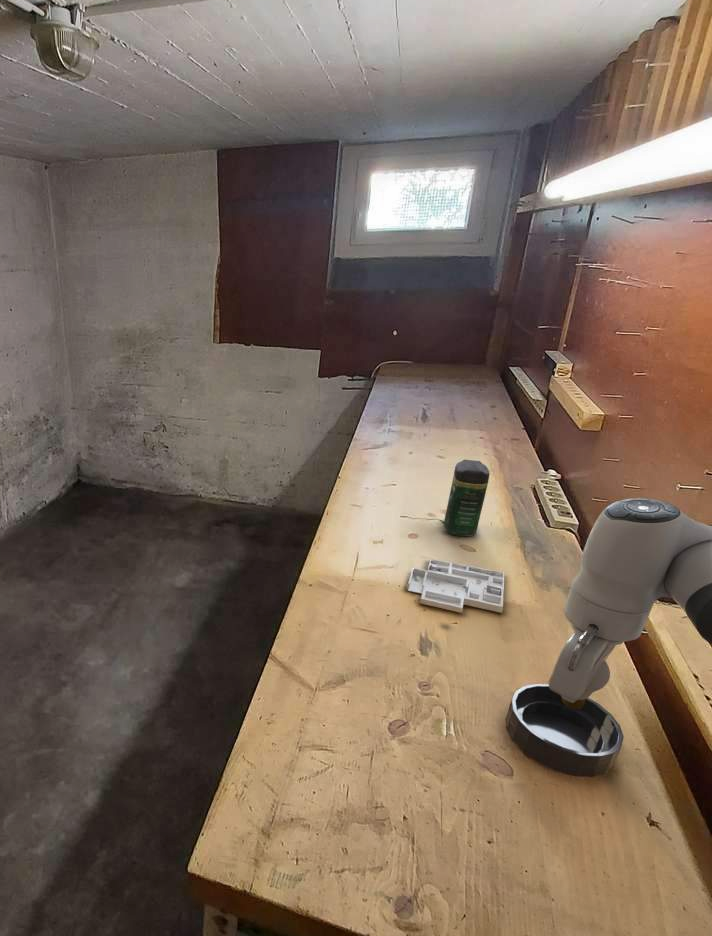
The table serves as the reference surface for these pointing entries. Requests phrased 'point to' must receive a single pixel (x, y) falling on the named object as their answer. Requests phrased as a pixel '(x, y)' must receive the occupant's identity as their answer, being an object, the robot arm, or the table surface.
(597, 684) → the light bulb
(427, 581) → the floor plan model
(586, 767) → the bowl
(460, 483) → the coffee jar
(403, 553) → the table surface
